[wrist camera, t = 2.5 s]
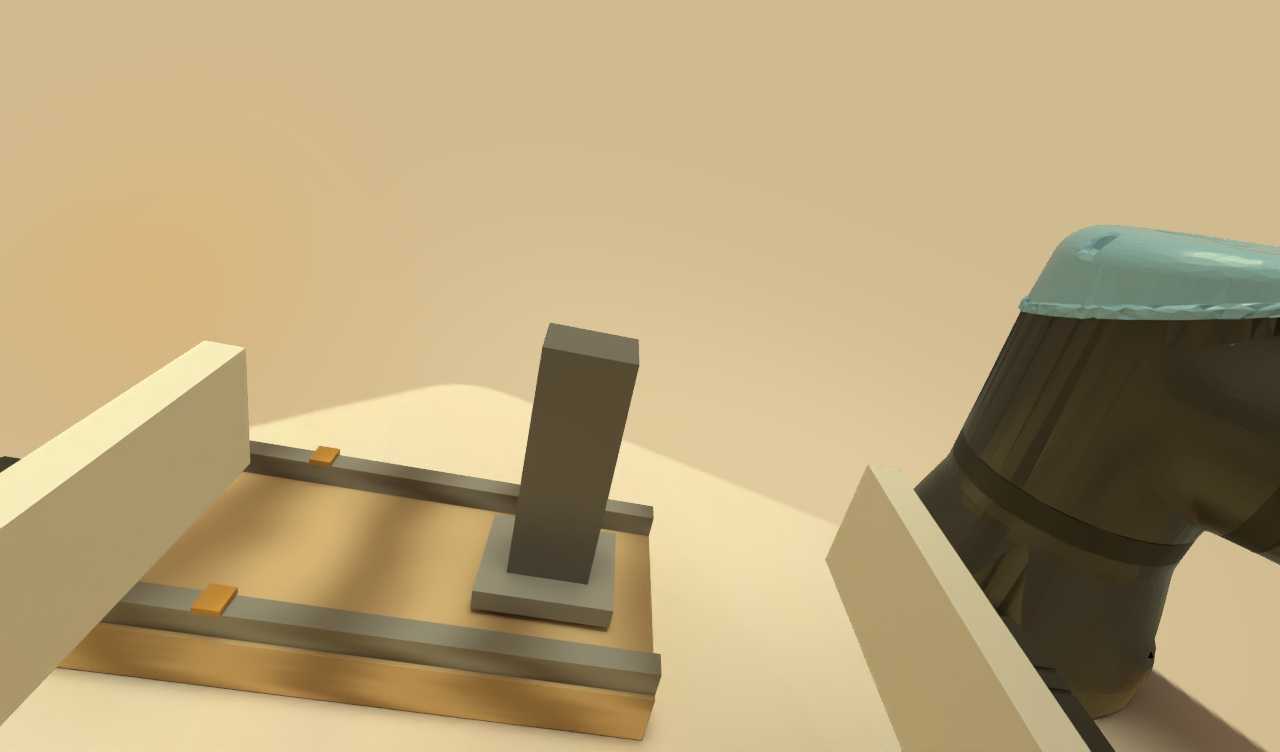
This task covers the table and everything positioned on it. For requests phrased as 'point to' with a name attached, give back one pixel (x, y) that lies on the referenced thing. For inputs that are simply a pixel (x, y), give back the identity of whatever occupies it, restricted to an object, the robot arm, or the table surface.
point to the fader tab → (564, 486)
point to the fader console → (377, 602)
